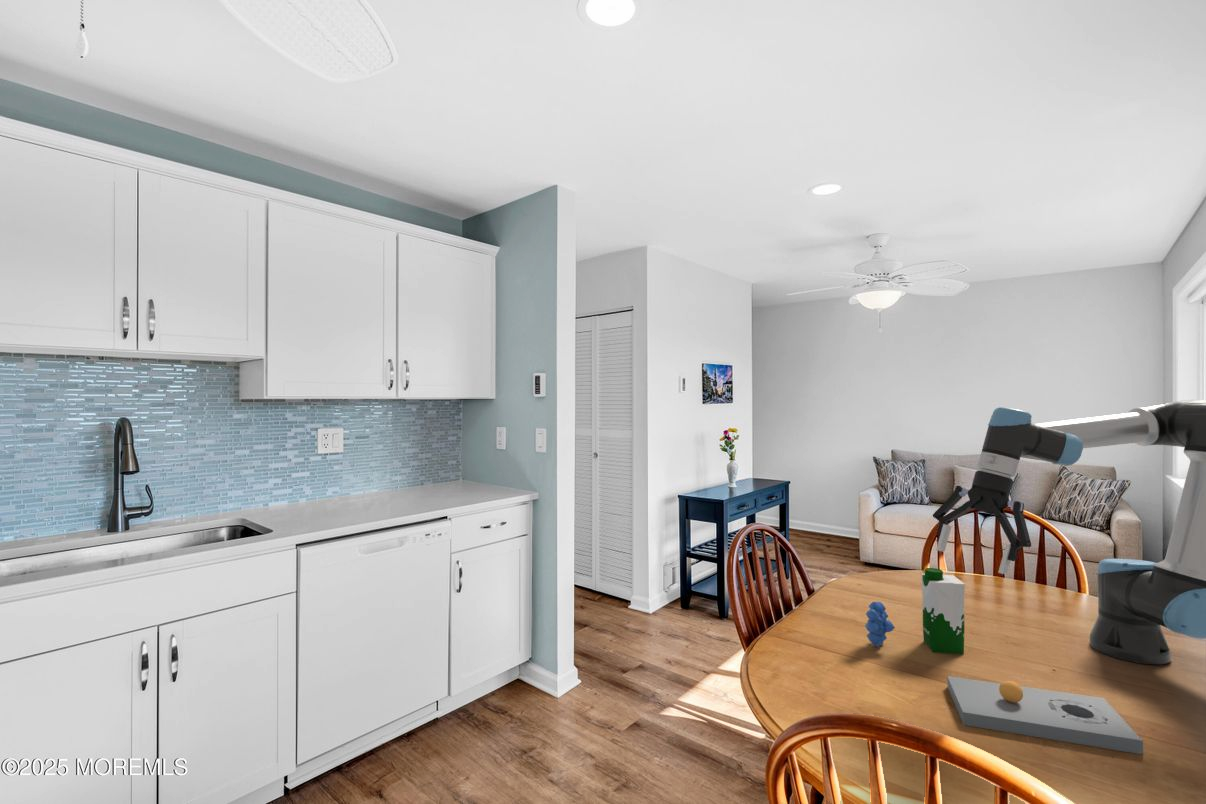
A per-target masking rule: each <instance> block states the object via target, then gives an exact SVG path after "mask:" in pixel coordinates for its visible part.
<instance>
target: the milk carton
mask: <svg viewBox="0 0 1206 804" xmlns="http://www.w3.org/2000/svg"><path fill="white" fill-rule="evenodd" d="M943 572H944V571H943V570H942V569H939V568H934V567H927V568H924V573H921V575H920V576H921V577H920V578H921V588H922V589H921V591H922V592H921V593H922V634H923V635H922V637H923V642H924V643H925V645H926V646H927V648H929V649H930V651H931V652H933V653H937V654H952V655H963V656H964V654H965V590H966V589H965V588H966V583H965V582H963V581H961V580H960V579H959V578H957V576H955V575H953V574H951V575H950V574H944V573H943Z"/></svg>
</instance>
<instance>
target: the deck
mask: <svg viewBox="0 0 1206 804" xmlns="http://www.w3.org/2000/svg"><path fill="white" fill-rule="evenodd" d="M946 678H947V679H946V680H947V685H946V686H947V690H948V693H949V694H950V697H951V700H952V701H953V704H954V706H955V708H956V710H957V711H956V712H957V714H958V716H959V718H960V720H961V723H962V725H963V726H969V727H973V728H974V727H975V728H980V729H985V730H986V729H987V730H992V731H998V732H1004V733H1009V734H1010V733H1011V734H1017V735H1023V736H1028V737H1035V738H1041V739H1048V740H1054V741H1058V742H1059V741H1060V742H1064V743H1072V744H1078V745H1083V746H1090V747H1095V748H1102V749H1108V750H1114V751H1120V752H1125V753H1132V754H1138V755H1144V740H1143V739H1142V738H1141V737H1140V736H1139V735H1138V733H1137V732H1136V731H1135V730H1134V729H1133V728H1132V727H1131V726H1130V725H1129V723H1127V721H1125V720H1124V718H1122V716H1121V715H1120V714H1119V713H1118V712H1117V711H1116V710H1115V709H1114V708H1113V706H1112V705H1110V703H1109V702H1108V701H1107V700H1106V699H1105V698H1104V697H1099V696H1091V695H1085V694H1078V693H1072V692H1071V693H1070V692H1065V691H1064V692H1063V691H1058V690H1050V689H1042V688H1035V687H1029V686H1022V685H1019V686H1020V687H1021V689H1022V691H1023V698H1022V699H1021V701H1019V702H1016V703H1012V702H1009V701H1007V700H1005V699H1004V698H1003V697H1002V696H1001V694H1000V691H999V687H1000V684H1001V683H1002V682H1001V683H1000V682H992V681H986V680H985V681H984V680H977V679H970V678H964V677H958V676H950V675H947V677H946Z"/></svg>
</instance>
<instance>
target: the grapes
mask: <svg viewBox="0 0 1206 804" xmlns="http://www.w3.org/2000/svg"><path fill="white" fill-rule="evenodd" d="M868 608H869V610H868V611H866V613H865V615H866V618H868V620H867V622H866V623H865V625H864V626H865V629H866V630H867V632H868V634H867V633H866V637H867V640H869V642H870V643H871V644H872V645H873V647H876V648H879V647H880V646H882V645H883V644H884V641H886V640H887V638H888V637H887V635H886V633H891V632H893V630H895V628H896V627H895V625H894V624H893V623H892V621H890V620H889V619H888V618H889V615H888V613H887V612H886V609H887V608H886V606H885V605H884V603H882V602H881V601H872V602H871V603H870V604H869V605H868Z"/></svg>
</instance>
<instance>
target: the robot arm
mask: <svg viewBox="0 0 1206 804" xmlns="http://www.w3.org/2000/svg"><path fill="white" fill-rule="evenodd" d="M1032 418H1033V417H1032V414H1031V413H1029V412H1027V411H1025V410H1021V409H1016V408H1012V407H1011V408H1010V407H997V408H994V410H993V412H992V414H991V416H990V420H989V422H988V424H987V426H988V427H987V431H986V433H985V436H984V440H983V445H982V449H981V452H980V456H979V459H978V462H977V465H976V466H977V469H978V470H976V471H975V473H974V476H973V479H972V483H971V488H970V489H967V488H966V487H964V486H961V485H956V486H955V488H954V491H953V493H952V494H951V495H950V496H949V497H948V498H947V499H946V500H945V501H944V502H943V503H942V504H941V505H940V506H939V507H938V509H937V510H935V512H933V514H932V517H933V518H934V519H936V520H937V521H938V522H939V523H938V528H937V531H936V535H937V537H939V538H938V542H937V545H936V551H937V552H944V553H945V552H946V548H947V544H948V542H949V541H948V540H949V537H950V533H951V531H952V527H953V526H952V525H950V523H952V522H953V521H955V520H957V519H958V518H960V517H962V516H964V515H965V514H967V513H969V512H970V511H974V510H975V511H979V512H983V513H985V514H989V515H992V516H994V517H995V518H996V519H997V521H998V523H999V525H1000V526H1001V529H1002V531H1003V532H1004V534H1005V536H1006V538H1007V540H1008V542H1009V543H1010V544H1005V546H1004V551H1003V554H1002V558H1001V560H1000V565H999V568H998V571H997V572H998V574H1001V575H1008V573H1009V567H1010V564H1011V562H1016V560H1017V558H1018V554H1019V552H1020V549H1021V548H1031V547H1032V542H1031V538H1030V534H1029V531H1028V530H1029V529H1028V526H1027V523H1026V518H1025V515H1024V514H1025V513H1024V510H1025V504H1024V502H1022V501H1018V500H1015V501H1013V500H1010V495H1011V491H1012V488H1013V484H1014V480H1013V478H1014V477H1015V476H1016V474H1017V470H1018V468H1019V467H1018V466H1019V463H1020V460H1021V458H1022V459H1023V458H1024V459H1029V460H1035V461H1043V462H1047V463H1051V464H1053V465H1059V466H1062V467H1063V466H1064V467H1069V466H1072V465H1074V464H1076V463H1077V462H1078V461H1079V460H1080V458H1081V456H1082V453H1083V450H1084V449H1091V448H1100V447H1110V446H1117V445H1128V444H1136V445H1139V446H1142V447H1147V446H1167V447H1168V446H1170V447H1181V448H1184V449H1183V453H1184V455H1185V456H1186V457H1187V458H1188V459H1189V465H1188V468H1187V469H1188V470H1187V472H1186V473H1187V474H1186V477H1185V480H1184V483H1183V488H1182V493H1181V496H1180V500H1179V503H1178V508H1177V512H1176V516H1175V519H1174V523H1173V527H1172V531H1171V534H1170V538H1169V542H1168V546H1167V550H1166V554H1165V557H1164V559H1163V560H1161V561H1158V562H1154V561H1151V560H1150V561H1149V560H1142V559H1132V558H1131V559H1130V558H1129V559H1128V558H1104V559H1102V560H1100V561H1099V563H1098V567H1097V573H1096V575H1097V604H1098V606H1097V607H1098V609H1097V610H1098V614H1097V615H1098V616H1097V618H1096V620H1095V622H1094V624H1093V627H1092V629H1091V632H1090V634H1089V645H1090V646H1091V648H1093V649H1094V650H1096V651H1098V652H1099V653H1102V654H1104V655H1107V656H1110V657H1112V658H1115V659H1119V660H1122V661H1127V662H1132V663H1137V664H1142V665H1143V664H1145V665H1166V664H1168V663H1170V662H1171V661H1172V659H1171V658H1172V655H1171V653H1172V652H1171V648H1170V647H1169V644H1168V642H1167V639H1166V636H1165V635H1164V632H1163V629H1162V628H1161V627H1164V628H1167V629H1168V630H1170V631H1171V632H1173V633H1176V634H1179V635H1180V634H1181V635H1184V636H1185V637H1188V638H1192V639H1196V640H1197V639H1199V640H1201V639H1202V640H1203V639H1206V399H1188V400H1187V399H1184V400H1178V401H1171V402H1167V403H1160V404H1154V405H1149V406H1141V407H1135V408H1132V409H1130V410H1129V411H1128V412H1126V413H1118V414H1109V415H1100V416H1092V417H1083V418H1075V419H1064V420H1057V421H1049V422H1048V421H1047V422H1039V423H1038V422H1037V423H1032ZM966 496H968V501H966V502H964V503H963V504H962V505H961V506H959V507H957V508H955V509H954V510H952V509H953V507H954V506H955V505H956V504H958V502H959V501H960V500H962V498H963V497H966ZM1007 507H1010V510H1011V511H1012V515H1013V518H1014V523H1015V527H1016V530H1017V534H1018V536H1017V534H1016V532H1015V530H1014V528H1013V526H1012V524H1011V523H1010V521H1009V518H1008V516H1007V514H1006V512H1005V509H1006V508H1007ZM951 510H952V511H951ZM950 511H951V512H950Z"/></svg>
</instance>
